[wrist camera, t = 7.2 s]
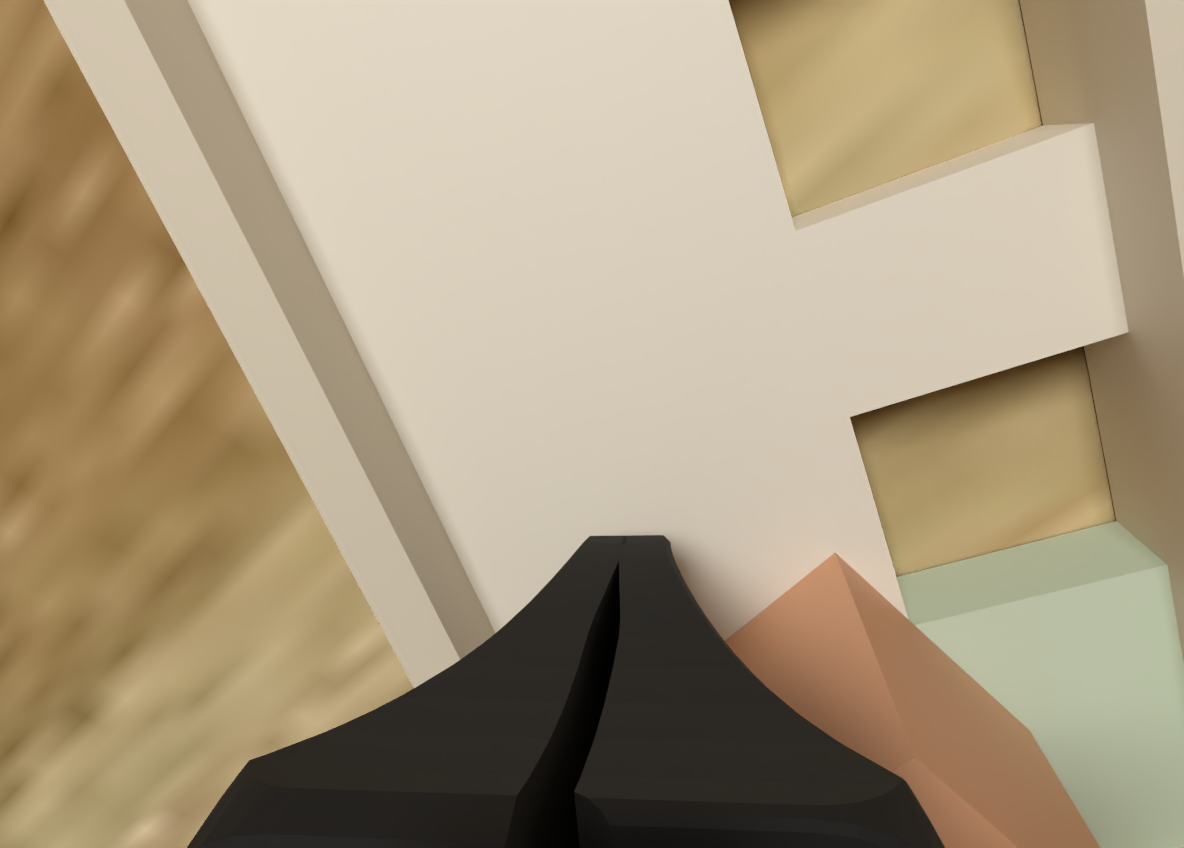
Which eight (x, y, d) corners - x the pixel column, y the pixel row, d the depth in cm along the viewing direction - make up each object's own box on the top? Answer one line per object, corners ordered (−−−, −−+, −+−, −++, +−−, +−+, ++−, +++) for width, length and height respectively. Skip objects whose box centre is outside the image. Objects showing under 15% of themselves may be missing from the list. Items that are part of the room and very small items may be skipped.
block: (1029, 730, 13) (1192, 999, 9) (814, 867, 15) (867, 1149, 11) (834, 552, 13) (914, 756, 8) (629, 717, 14) (609, 958, 10)
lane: (1224, 804, 15) (1375, 984, 12) (619, 909, 18) (607, 1079, 15) (928, -1089, 8) (1111, -1990, 4) (-27, -403, 11) (-343, -649, 7)
